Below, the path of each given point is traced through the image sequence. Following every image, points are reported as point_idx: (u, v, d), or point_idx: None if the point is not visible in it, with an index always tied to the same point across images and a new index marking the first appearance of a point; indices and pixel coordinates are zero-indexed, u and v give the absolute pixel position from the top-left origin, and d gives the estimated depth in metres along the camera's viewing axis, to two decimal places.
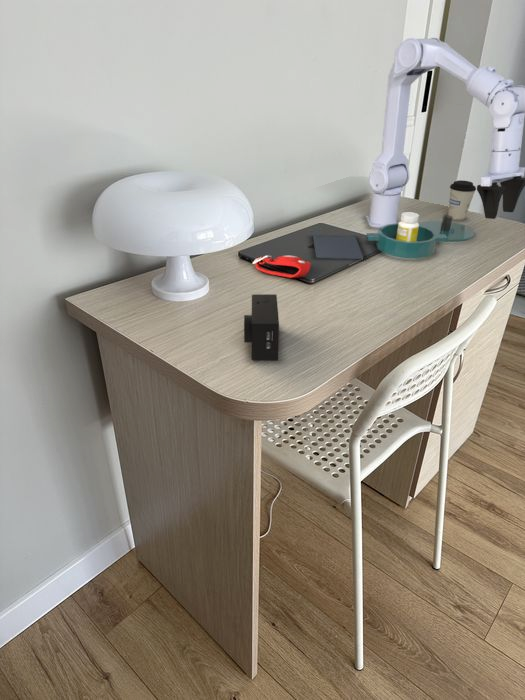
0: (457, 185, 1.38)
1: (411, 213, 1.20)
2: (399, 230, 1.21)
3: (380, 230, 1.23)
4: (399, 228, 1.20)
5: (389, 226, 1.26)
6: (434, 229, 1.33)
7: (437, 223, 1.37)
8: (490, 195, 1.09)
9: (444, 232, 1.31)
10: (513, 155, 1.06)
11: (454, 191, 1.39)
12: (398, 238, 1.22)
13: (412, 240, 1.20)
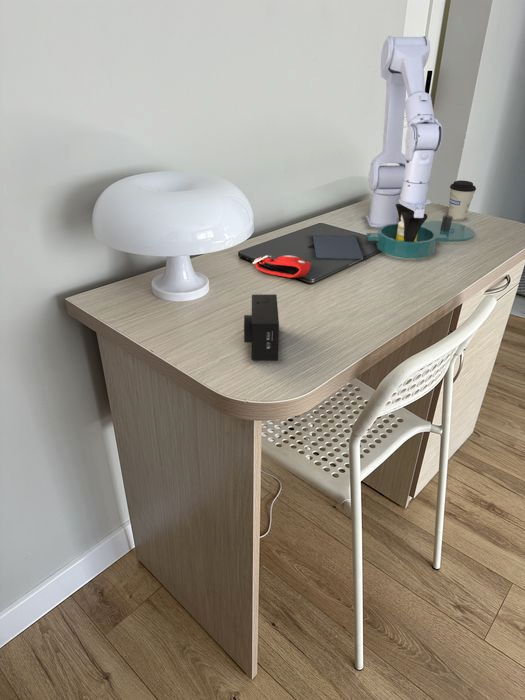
0: (457, 185, 1.38)
1: None
2: (399, 230, 1.21)
3: (380, 230, 1.23)
4: (399, 228, 1.20)
5: (389, 226, 1.26)
6: (434, 229, 1.33)
7: (437, 223, 1.37)
8: (412, 222, 1.17)
9: (444, 232, 1.31)
10: (427, 186, 1.14)
11: (454, 191, 1.39)
12: (398, 238, 1.22)
13: None
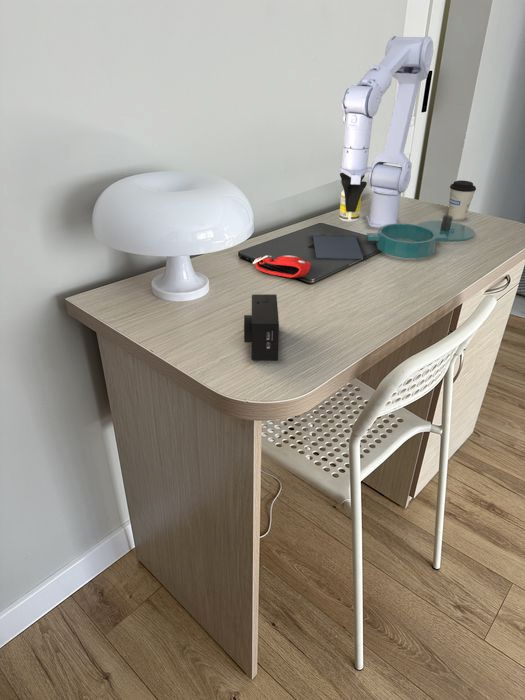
0: (457, 185, 1.38)
1: None
2: (341, 199, 1.18)
3: (380, 230, 1.23)
4: (341, 197, 1.17)
5: (389, 226, 1.26)
6: (434, 229, 1.33)
7: (437, 223, 1.37)
8: (352, 190, 1.14)
9: (444, 232, 1.31)
10: (367, 152, 1.11)
11: (454, 191, 1.39)
12: (341, 207, 1.19)
13: None
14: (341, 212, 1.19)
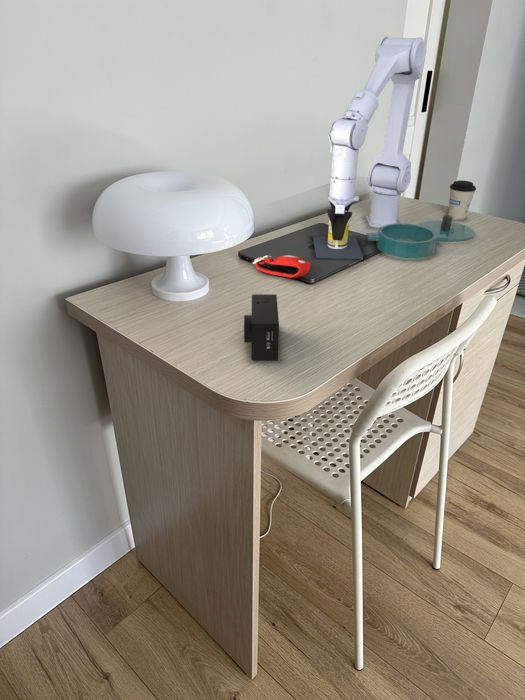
0: (457, 185, 1.38)
1: None
2: (329, 227, 1.21)
3: (380, 230, 1.23)
4: (329, 225, 1.21)
5: (389, 226, 1.26)
6: (434, 229, 1.33)
7: (437, 223, 1.37)
8: (338, 220, 1.17)
9: (444, 232, 1.31)
10: (353, 182, 1.15)
11: (454, 191, 1.39)
12: (328, 235, 1.22)
13: None
14: (329, 240, 1.23)
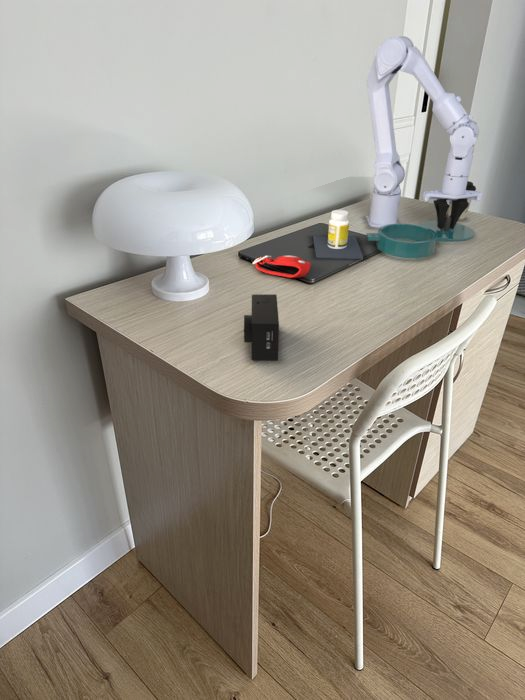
0: None
1: (341, 211, 1.21)
2: (329, 227, 1.21)
3: (380, 230, 1.23)
4: (329, 225, 1.21)
5: (389, 226, 1.26)
6: (434, 229, 1.33)
7: None
8: None
9: (444, 232, 1.31)
10: None
11: None
12: (328, 235, 1.22)
13: (341, 238, 1.21)
14: (329, 240, 1.23)
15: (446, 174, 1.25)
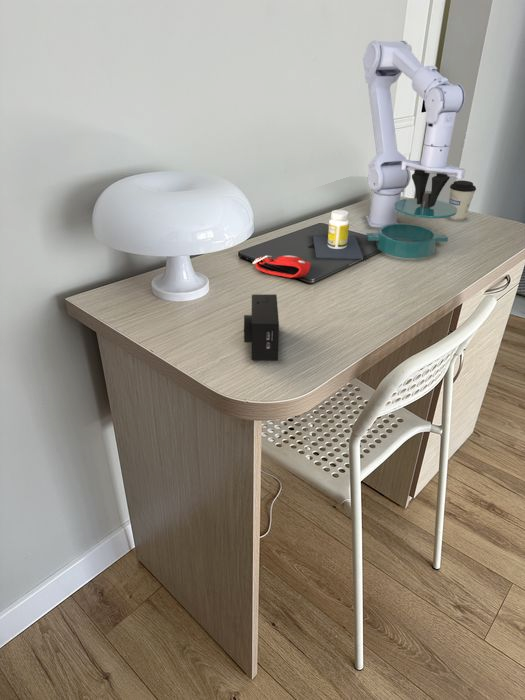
0: (457, 185, 1.38)
1: (341, 211, 1.21)
2: (329, 227, 1.21)
3: (380, 230, 1.23)
4: (329, 225, 1.21)
5: (389, 226, 1.26)
6: (414, 204, 1.24)
7: None
8: None
9: (417, 208, 1.21)
10: None
11: (454, 191, 1.39)
12: (328, 235, 1.22)
13: (341, 238, 1.21)
14: (329, 240, 1.23)
15: None
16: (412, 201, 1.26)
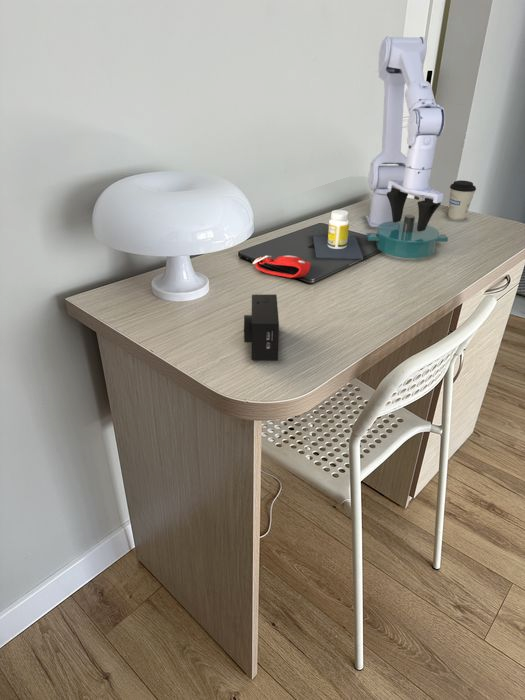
0: (457, 185, 1.38)
1: (341, 211, 1.21)
2: (329, 227, 1.21)
3: None
4: (329, 225, 1.21)
5: None
6: (399, 227, 1.23)
7: None
8: None
9: (398, 231, 1.21)
10: None
11: (454, 191, 1.39)
12: (328, 235, 1.22)
13: (341, 238, 1.21)
14: (329, 240, 1.23)
15: None
16: (400, 224, 1.25)
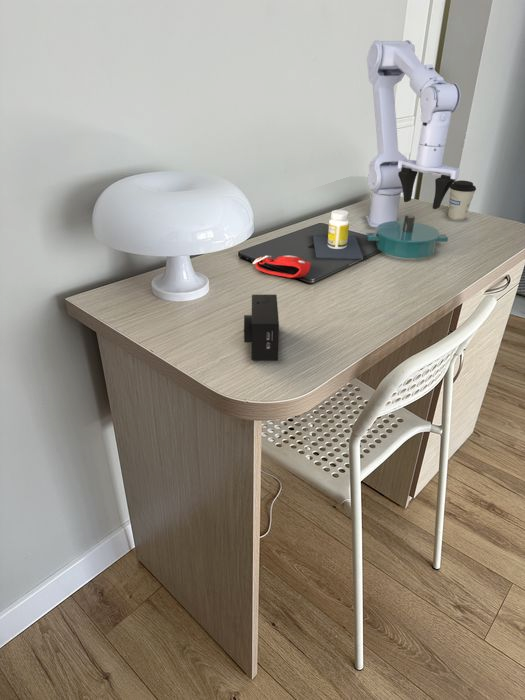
0: (457, 185, 1.38)
1: (341, 211, 1.21)
2: (329, 227, 1.21)
3: None
4: (329, 225, 1.21)
5: None
6: (399, 227, 1.23)
7: (419, 226, 1.24)
8: None
9: (398, 231, 1.21)
10: None
11: (454, 191, 1.39)
12: (328, 235, 1.22)
13: (341, 238, 1.21)
14: (329, 240, 1.23)
15: None
16: (400, 224, 1.25)
